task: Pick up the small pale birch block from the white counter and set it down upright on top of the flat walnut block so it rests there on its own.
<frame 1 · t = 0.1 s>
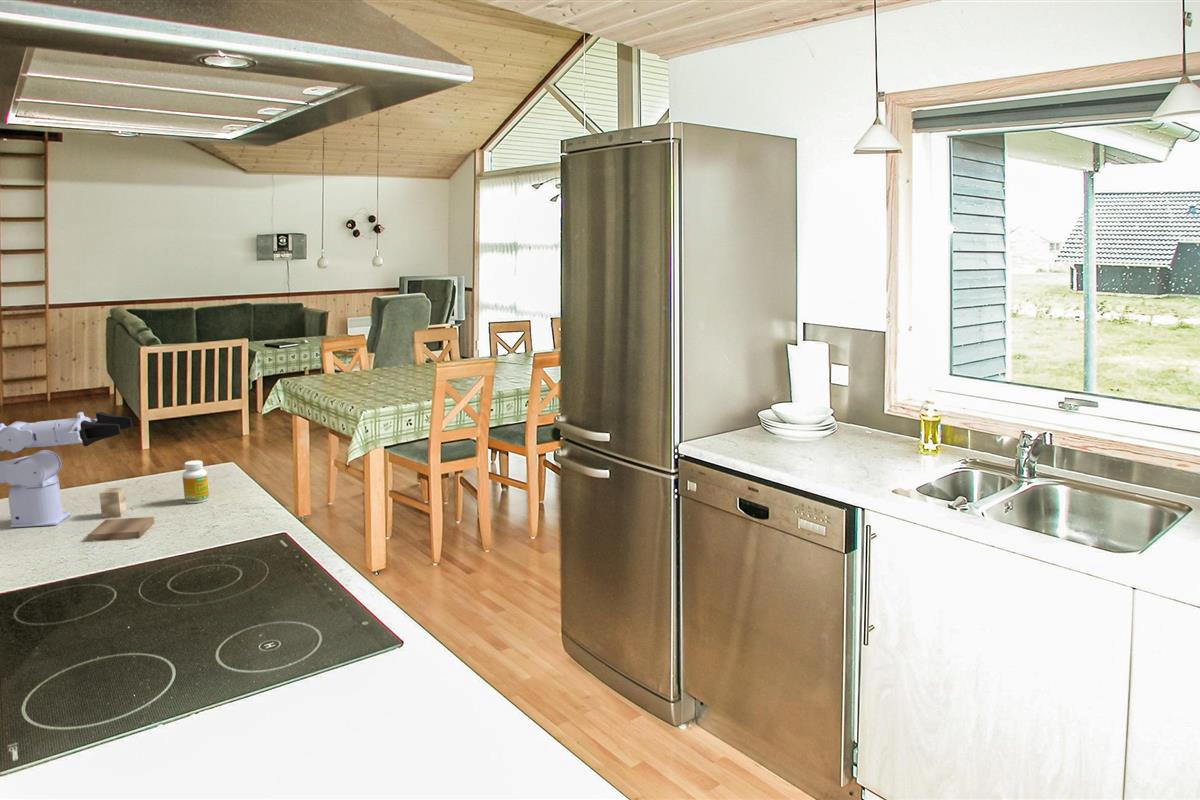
hand: (125, 425, 195), 22 cm above the counter, tool horizontal, fingers open, 7 cm apart
birch block: (114, 514, 200), on the counter
supplement bottle: (197, 501, 210), on the counter
walnut block: (122, 534, 188), on the counter
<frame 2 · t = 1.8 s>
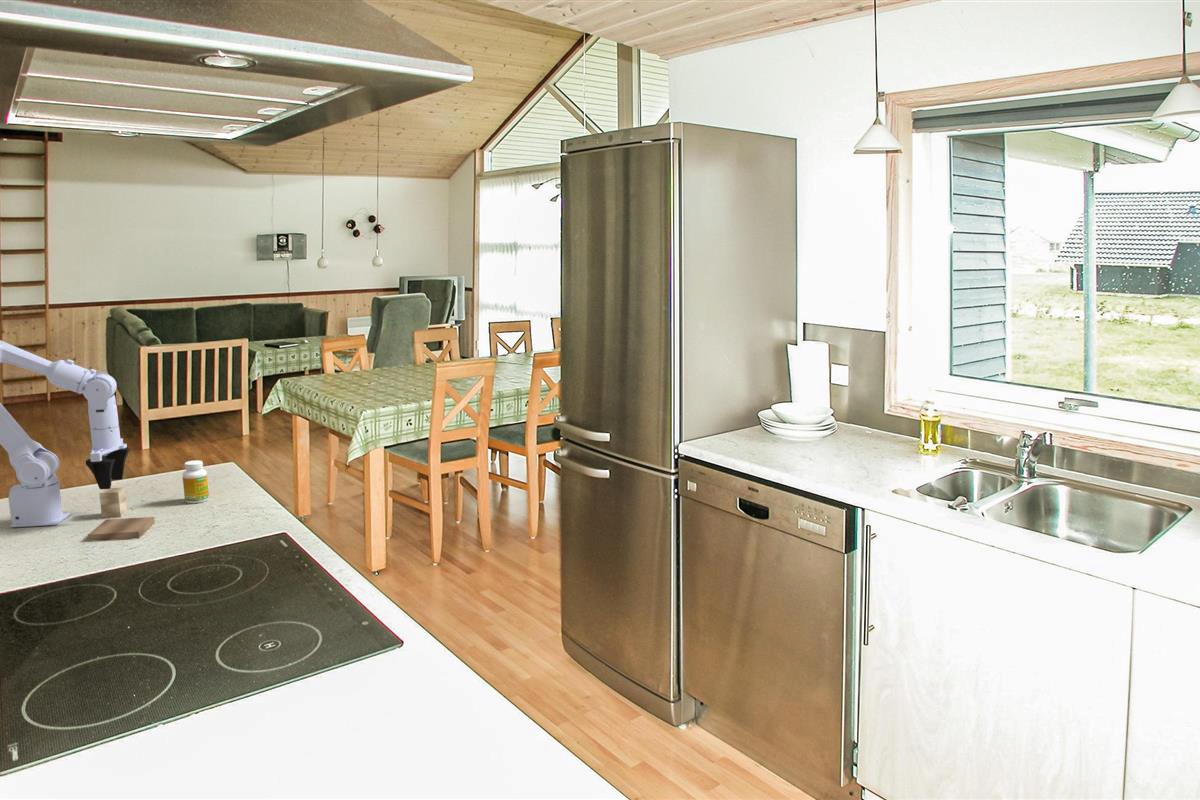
hand: (111, 484, 198), 7 cm above the counter, tool pointing down, fingers open, 7 cm apart
nothing on the counter moved.
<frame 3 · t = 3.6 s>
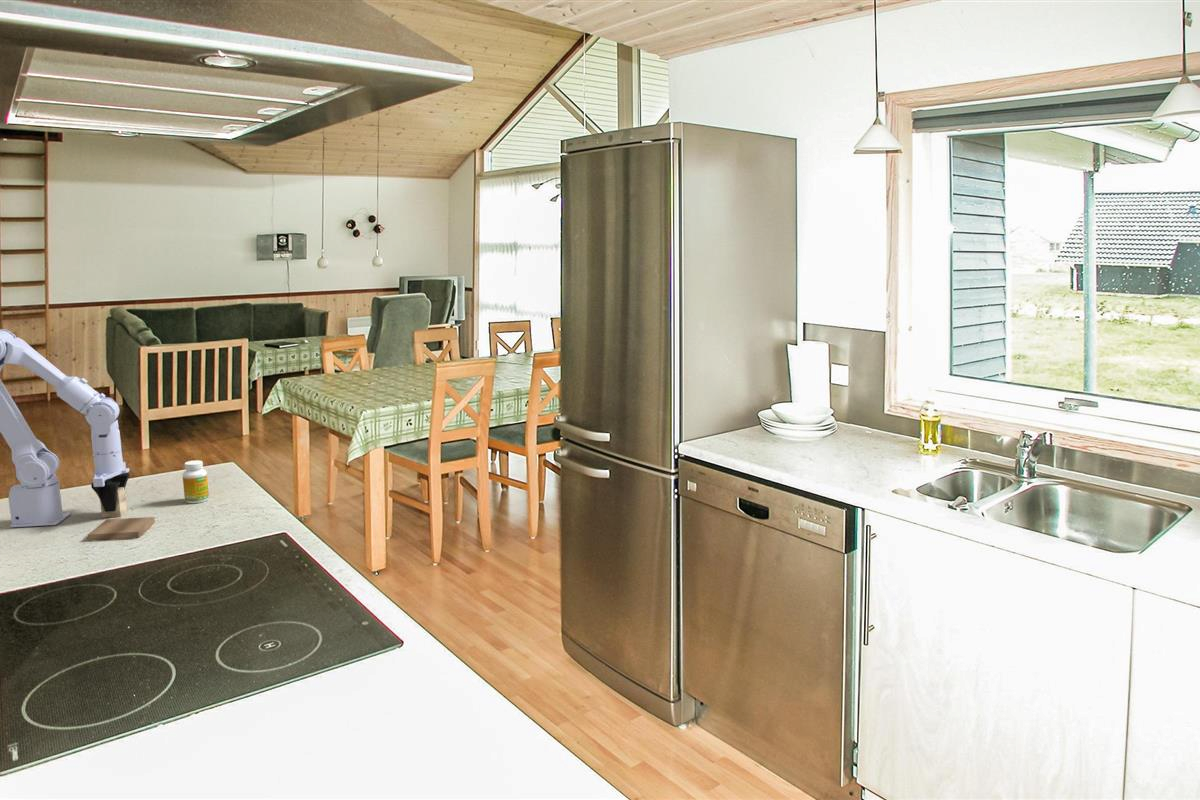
hand: (113, 508, 199), 2 cm above the counter, tool pointing down, fingers closed on birch block, 4 cm apart
birch block: (114, 514, 200), on the counter, touching gripper
everything else where it was.
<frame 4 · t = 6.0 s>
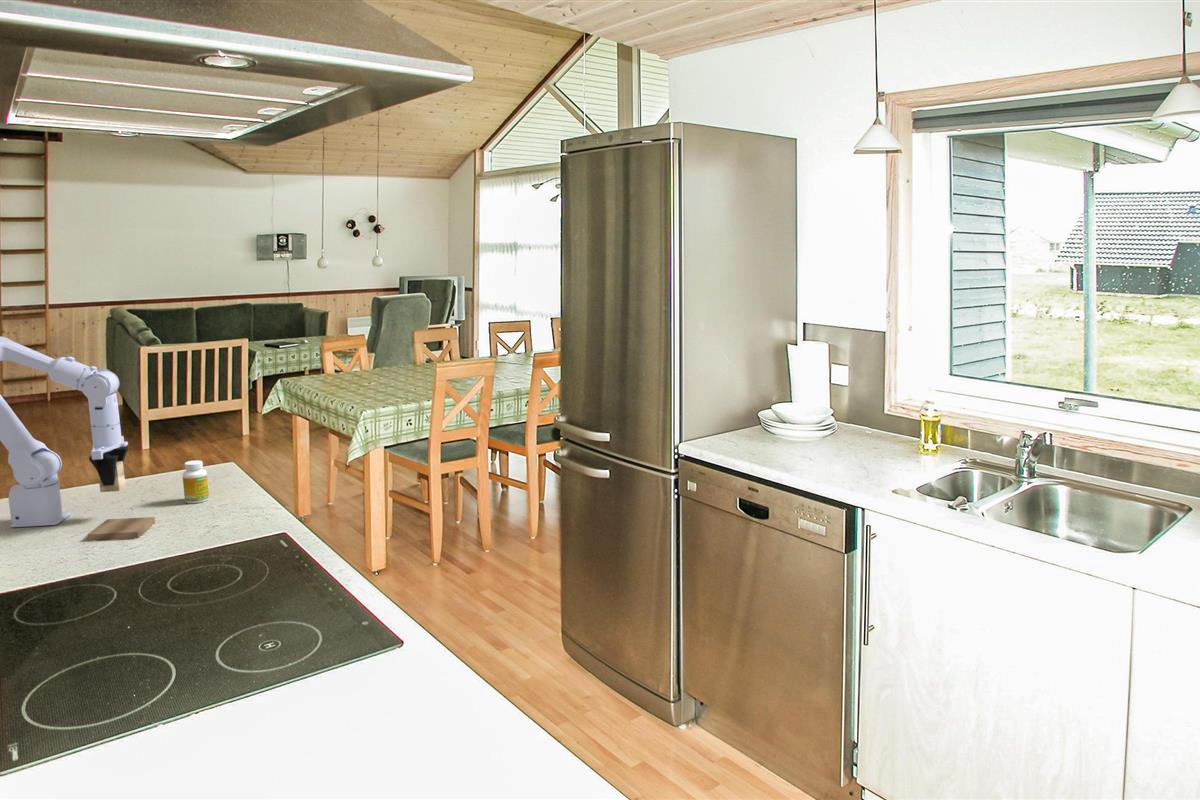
hand: (112, 482, 196), 8 cm above the counter, tool pointing down, fingers closed on birch block, 4 cm apart
birch block: (113, 489, 196), point 7 cm above the counter, touching gripper
everything else where it was.
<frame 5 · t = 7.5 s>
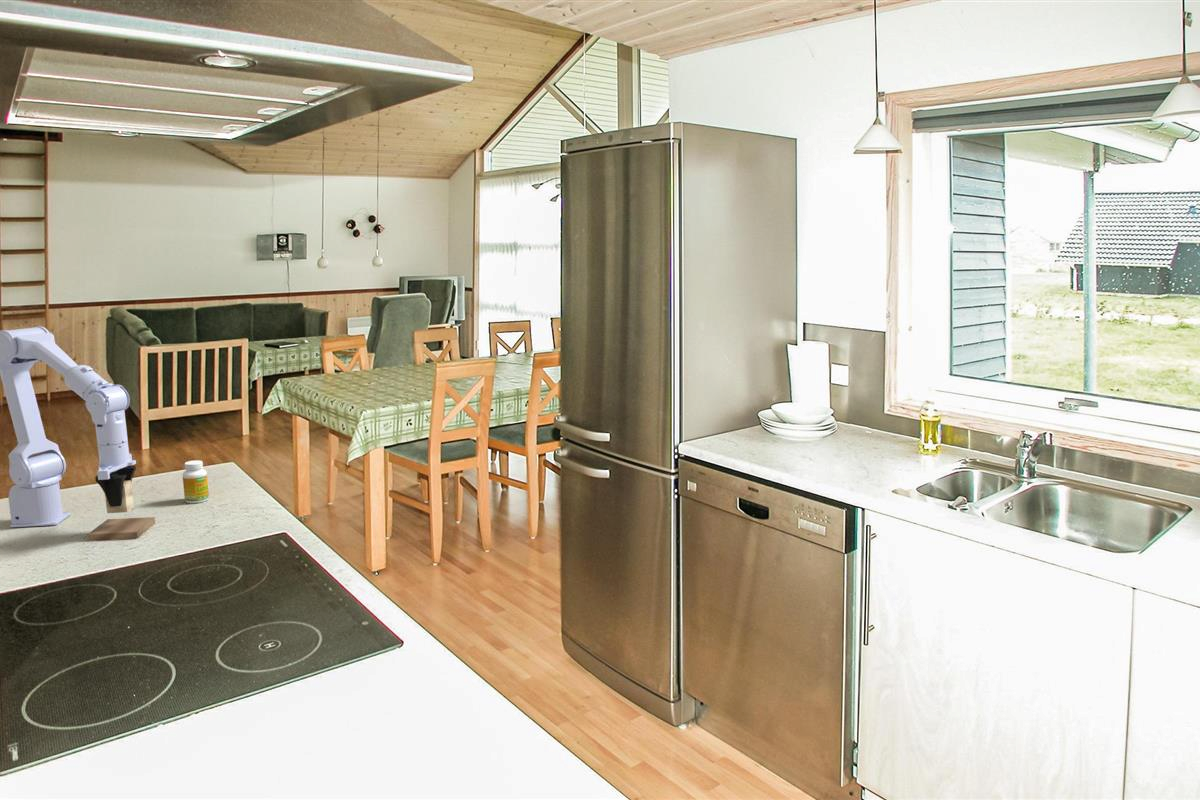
hand: (119, 502, 187), 7 cm above the counter, tool pointing down, fingers closed on birch block, 4 cm apart
birch block: (120, 509, 187), point 5 cm above the counter, touching gripper
everything else where it was.
when the fingers open (5 cm above the counter, at t = 8.7 s): birch block drops 2 cm, point 1 cm above the counter.
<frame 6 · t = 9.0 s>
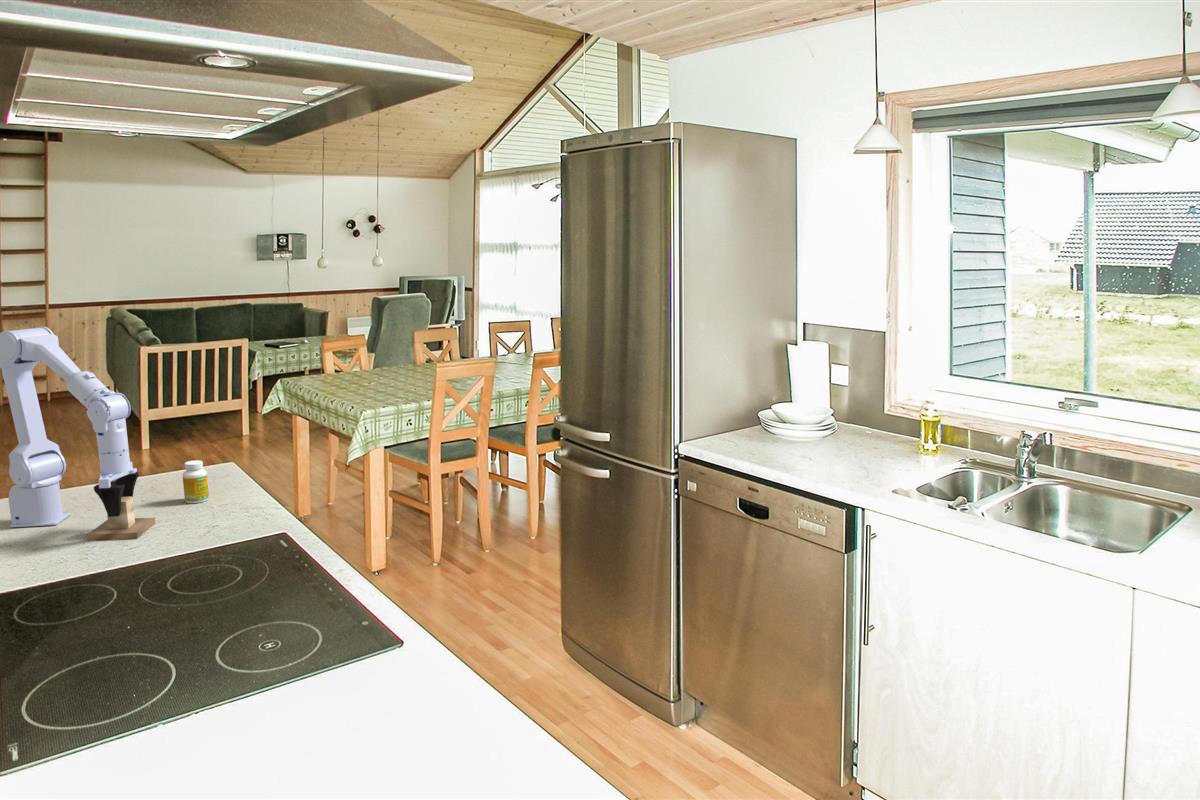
hand: (120, 510, 187), 5 cm above the counter, tool pointing down, fingers open, 7 cm apart
birch block: (122, 525, 188), point 1 cm above the counter
everything else where it was.
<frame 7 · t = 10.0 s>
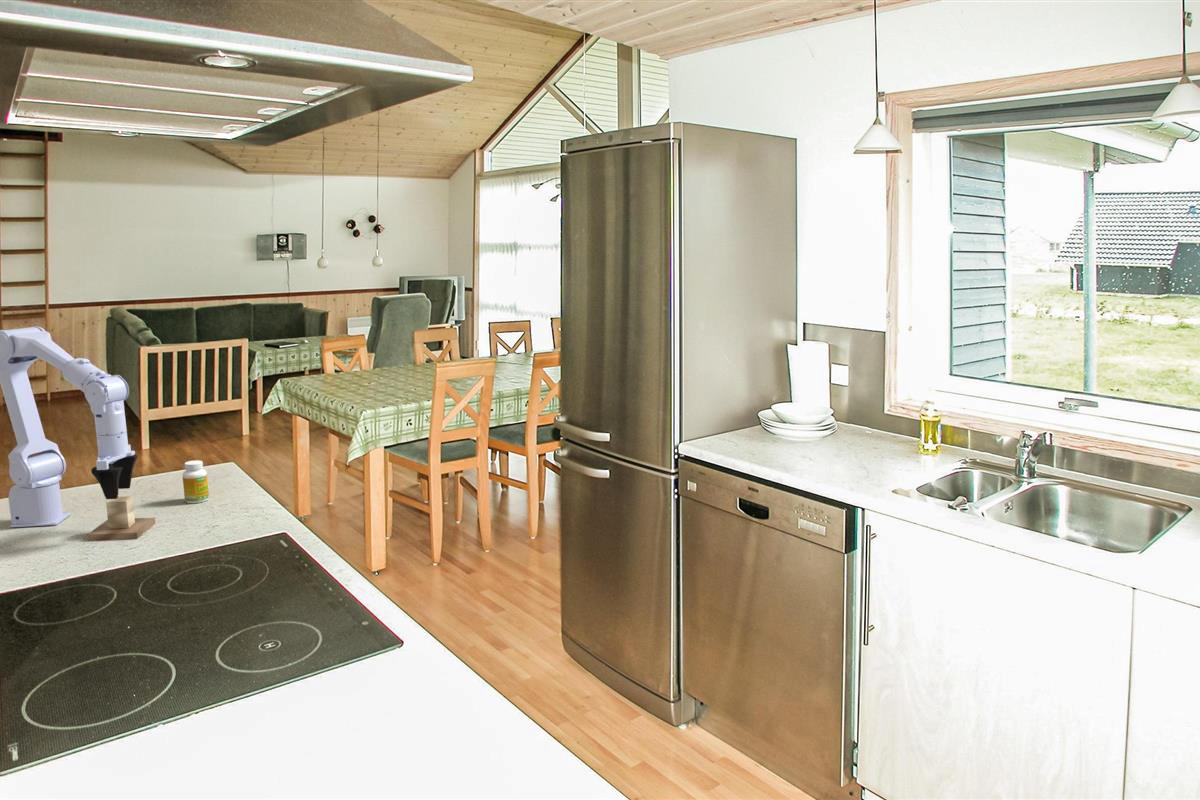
hand: (118, 493, 187), 9 cm above the counter, tool pointing down, fingers open, 7 cm apart
nothing on the counter moved.
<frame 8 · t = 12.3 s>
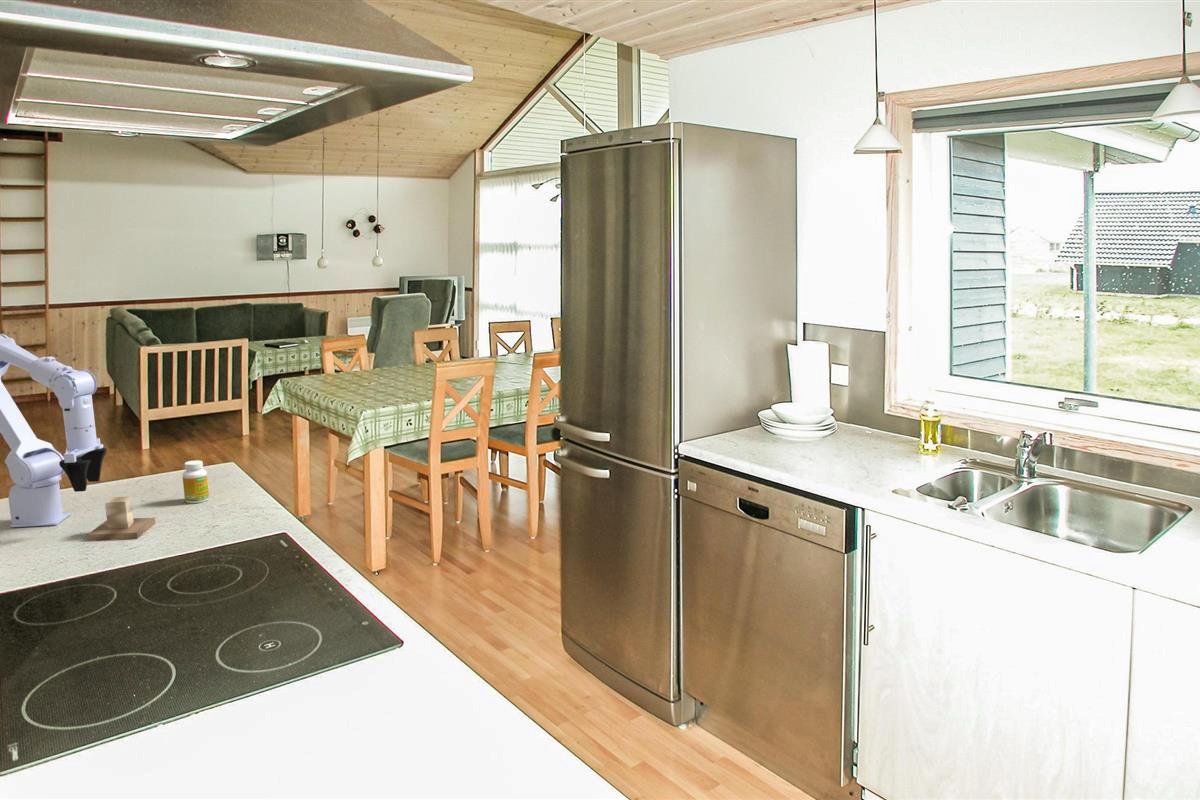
hand: (87, 486, 190), 9 cm above the counter, tool pointing down, fingers open, 7 cm apart
birch block: (121, 525, 188), point 1 cm above the counter, touching walnut block
walnut block: (123, 534, 188), on the counter, touching birch block
everything else where it was.
at the end: birch block inside the target area on the walnut block (0.2 cm from its centre), point 2.1 cm above the walnut block's base; birch block tilted 2°; the gripper is holding nothing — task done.
